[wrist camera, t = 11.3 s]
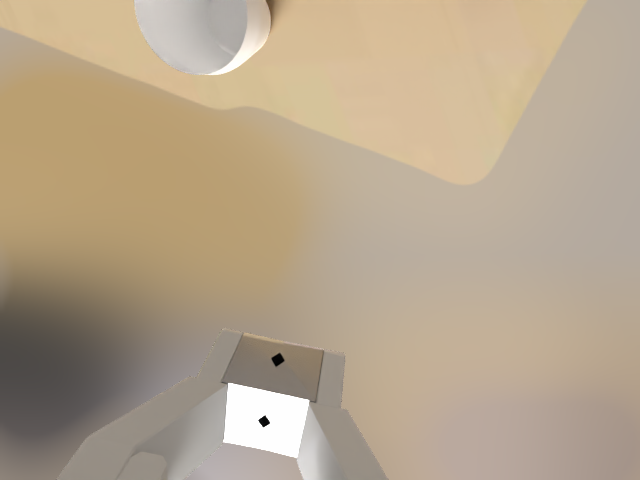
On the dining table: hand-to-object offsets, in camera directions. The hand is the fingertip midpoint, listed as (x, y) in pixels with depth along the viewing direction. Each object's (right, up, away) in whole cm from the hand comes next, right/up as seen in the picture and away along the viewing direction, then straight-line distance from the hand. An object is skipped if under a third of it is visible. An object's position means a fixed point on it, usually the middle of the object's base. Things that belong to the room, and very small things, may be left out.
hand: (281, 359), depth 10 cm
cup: (-7, +25, +30) cm, 40 cm away
